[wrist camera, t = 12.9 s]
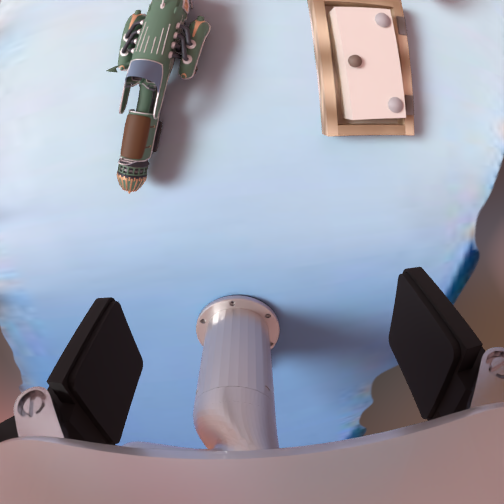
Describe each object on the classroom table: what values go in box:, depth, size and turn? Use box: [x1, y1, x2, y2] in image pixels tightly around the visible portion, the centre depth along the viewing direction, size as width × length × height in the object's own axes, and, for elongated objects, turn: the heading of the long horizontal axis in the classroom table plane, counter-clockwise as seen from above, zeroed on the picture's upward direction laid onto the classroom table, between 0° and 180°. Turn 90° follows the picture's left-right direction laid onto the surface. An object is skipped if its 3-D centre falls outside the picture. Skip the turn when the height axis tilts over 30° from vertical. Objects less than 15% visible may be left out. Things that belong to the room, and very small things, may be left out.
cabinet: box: [307, 0, 414, 136], centre depth 30 cm, size 17×11×3 cm, turn 6°
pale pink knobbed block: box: [326, 7, 406, 120], centre depth 29 cm, size 13×6×4 cm, turn 9°
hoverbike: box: [107, 0, 211, 194], centre depth 30 cm, size 10×25×8 cm, turn 165°
